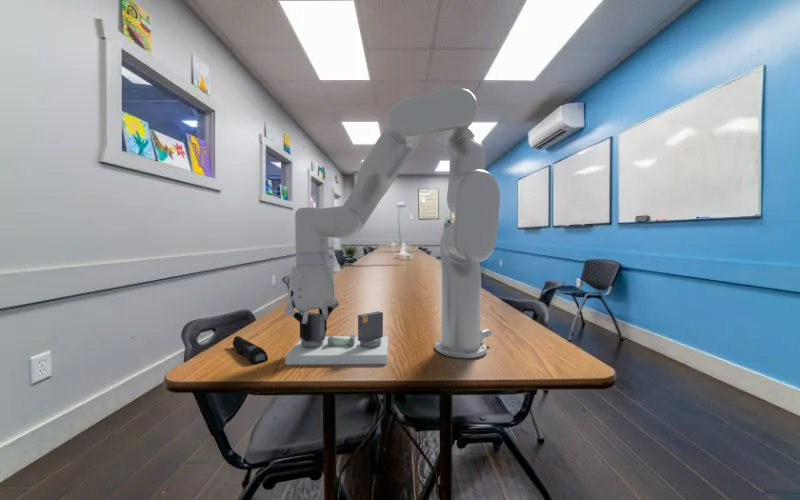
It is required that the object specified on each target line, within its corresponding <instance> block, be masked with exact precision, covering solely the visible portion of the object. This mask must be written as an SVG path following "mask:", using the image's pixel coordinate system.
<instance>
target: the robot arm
mask: <svg viewBox="0 0 800 500" xmlns="http://www.w3.org/2000/svg"><path fill="white" fill-rule="evenodd" d="M477 114H478V101H477V99H476V97H475V94H474V93H472V92H471V91H470V90H469V89H466V88H463V87H450V88H444V89H439V90H435V91H432V92H427V93H424V94H423V93H422V94H419V95H414V96H411V97H408V98H405V99H402V100H400V101H398V102H397V103H395V104H393V106H392V107H391V109H390V110H389V112H388V116H387V124H386V127H385V128H384V129H383V130H382V132H381V134H380V136H379V137H378V138H377V140H376V142H375V143H374V145H373V146H372V148H371V149H370V150H369V152H368V153H367V155H366V156H365V158H364V160H363V161H362V163H361V164H360V167H359V170H358V173H357V174H358V175H357V178H356V181H355V184H354V186H353V188H352V190H351V192H350V194H349V195H348V197H347V199H345V202H344V203H343V205H340V206H339V205H337V206H331V207H324V208H322V207H312V206H311V207H310V206H307V207H299V208H298V209H296V210H295V214H294V227H295V228H294V229H295V232H294V233H295V234H294V235H295V239H294V240H295V266H292V267H291V269H290V270H291V271H290V277H289V281H288V282H289V285H288V294H287V295H288V299H287V300H288V302H287V304H286V306H285V308H284V311H283V313H284V314H286V315H288V316H290V317H292V318H294V319H295V320H297V322H299V337H300V336H301V337H302V339H304V340H306V341H308V340H310V324H309V323H308V312H310V310H317V312H318V314H325V336H326V332H327V329H328V328H327V320H328V319H329V316H330V315H331V314H332V312H333V311H334V310H335V309H336V308H338V307H339V306H340V302H339V301H338V299H337V297H336V288H335V279H334V273H333V268H332V265H331V264H330V261H333V260H334V255H333V254H330V250H329V238H335V239H340V240H341V239H342V240H350V239H354V238H356V236H357V235H359V233H360V232H361V230H362V229H363V228H364V226H365V225H366V223H367V222H368V220H369V219H370V217H371V215H372V214H373V212H374V211H375V209H376V208H377V206H378V204H379V203H380V202H381V200H382V199H383V197H384V196H385V195H386V194H387V193H388V191H389V189H390V187H391V186H392V184H393V183H394V181H395V180H396V178H397V177H398V175H399V174H400V172H401V170H403V167H404V166H405V164H406V162H407V161H409V158H410V157H411V156H412V154H413V152H414V151H415V149H416V148H417V146H418V145H419V143H420V141H421V139H422V136H427V135H433V137H434V139H435V140H436V141H437V142H438V143H439V144H441V145H442V146H443V147H444V148H445V149H446V152H447V154H448V157H449V174H448V185H447V194H446V203H447V204H446V205H447V208H448V209H449V211H450V212H451V213H452V214H453V215H454V223H452V224H450V225H449V226H448V227H446V228H445V230H444V231H443V232H442V233H441V234H442V235H441V236H440V237H441V238H440V241H439V250H440V251H439V252H440V260H441V262H440V263H441V338H439V339H438V340H436V341H435V343H434V348H435V350H436V351H437V352H439V353H440V354H442V355H444V356H447V357H451V358H456V359H457V358H458V359H475V358H480V357H482V356H484V355H486V353H487V350H488V347H487V345H486V344H485V343H484V342H483V341H484V339H485V338H489V337H491V336H492V334H493V333H492V331H491V329H489V328H488V329H487V328H486V329H481V317H482V316H481V315H482V314H481V313H482V311H481V310H482V307H481V306H482V304H481V303H482V302H481V301H482V295H481V294H482V273H481V264H480V263H481V262H484V261H486V260H487V259H488V258H489V257H490V256H491V255H492V254H493V252H494V249H495V247H496V244H497V239H498V229H499V218H500V203H501V191H500V186H499V184H498V181H497V179H496V178H495V177H494V175H492V174H491V173H490V172H488V171H486V151H485V147H484V144H483V142H482V140H481V139H480V137H479V135H477V134H476V132H475V131H474V130H473V129H472V128H471V127H470V126H471V125H472V123H474V121H475V118H476V117H477ZM294 309H295V310H297V311H295V310H294Z"/></svg>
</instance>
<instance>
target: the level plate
mask: <svg viewBox="0 0 800 500" xmlns="http://www.w3.org/2000/svg"><path fill="white" fill-rule="evenodd" d="M388 339H389V336H388V335H386V336H385V335H383V337H381V345H379V346H376V347H363V346H361V345H360V341H358V335H356V336H355V334H351V335H350V336H348V335H347V336H345V335H344V336H341V335H340V336H338V335H337V336H336V335H334V334H329V335H327V336H325V340H323V344H322V345H320V346H317V347H311V348H307V347H303V346H301V339H300V340H299V341H298V342H297V343H296V344H295V345H294V346H293V347H292V348H291V349H290V350H289V351H288V352H287V353H286V354H285V359H284V361H285V365H286V366H290V365H291V366H293V365H295V366H296V365H298V366H299V365H301V366H302V365H303V366H305V365H307V366H309V365H311V366H315V365H316V366H317V365H320V366H321V365H388V348H389V346H388V345H389V340H388Z"/></svg>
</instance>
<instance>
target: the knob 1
mask: <svg viewBox="0 0 800 500" xmlns="http://www.w3.org/2000/svg"><path fill="white" fill-rule="evenodd" d="M308 323H309V324H310V340H308V341H306V340H304V339H302V337H301V336H300V335H299V339H300V340H301V346H303V347H307V348H311V347H317V346H320V345H322V344H323V340H325V314H318V313H317V312H310V311H308Z"/></svg>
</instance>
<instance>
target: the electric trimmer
mask: <svg viewBox="0 0 800 500" xmlns="http://www.w3.org/2000/svg"><path fill="white" fill-rule="evenodd" d="M232 347H234V349H235V350H236V352H237V353H238V355H239V354H240V355H243V356H246V357H247V358H248V360H249V362H250V364H251V365H259V364H263V363H266V362H268V360H269V357H268V354H267V352H266V351H265V349H263V348H262V347H259V346H258V345H256V344H254V343H253V342H250V341H249V340H246V339H244V338H243V337H241V336H237V335H236V336H235V337H233V340H232Z"/></svg>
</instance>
